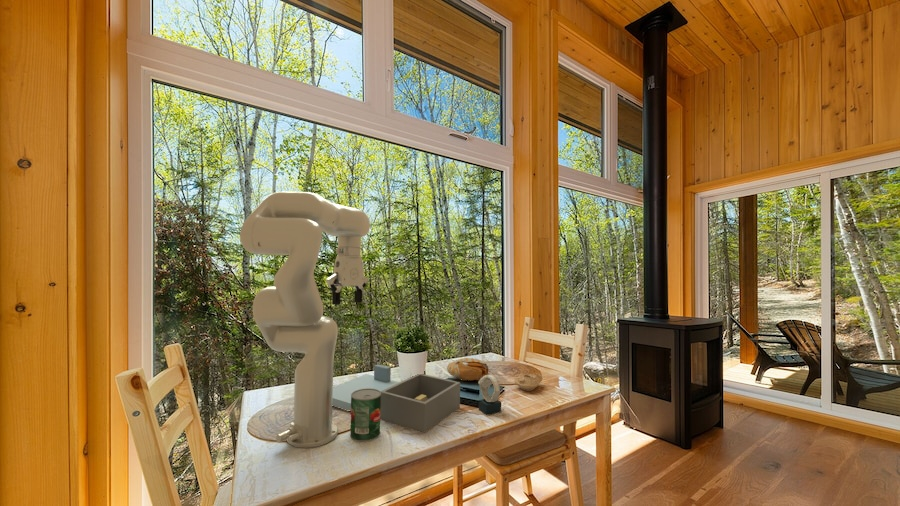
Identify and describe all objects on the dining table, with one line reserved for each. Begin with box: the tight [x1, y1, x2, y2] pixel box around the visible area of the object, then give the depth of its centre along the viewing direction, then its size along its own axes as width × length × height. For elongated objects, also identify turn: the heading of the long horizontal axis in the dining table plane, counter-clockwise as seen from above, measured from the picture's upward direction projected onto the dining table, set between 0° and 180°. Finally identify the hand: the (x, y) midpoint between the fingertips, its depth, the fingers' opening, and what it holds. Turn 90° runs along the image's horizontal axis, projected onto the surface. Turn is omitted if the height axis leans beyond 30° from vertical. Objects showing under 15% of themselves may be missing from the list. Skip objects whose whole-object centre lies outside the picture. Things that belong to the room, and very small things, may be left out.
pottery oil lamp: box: [513, 373, 544, 392], centre depth 134 cm, size 9×12×7 cm
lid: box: [332, 364, 401, 411], centre depth 124 cm, size 23×19×8 cm
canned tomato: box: [349, 388, 381, 443], centre depth 98 cm, size 8×8×11 cm
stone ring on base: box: [477, 374, 502, 416], centre depth 114 cm, size 6×8×11 cm
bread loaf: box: [446, 357, 496, 382], centre depth 141 cm, size 8×22×15 cm
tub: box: [380, 374, 461, 434], centre depth 112 cm, size 20×16×8 cm
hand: (347, 303), depth 123 cm, fingers open, 9 cm apart
